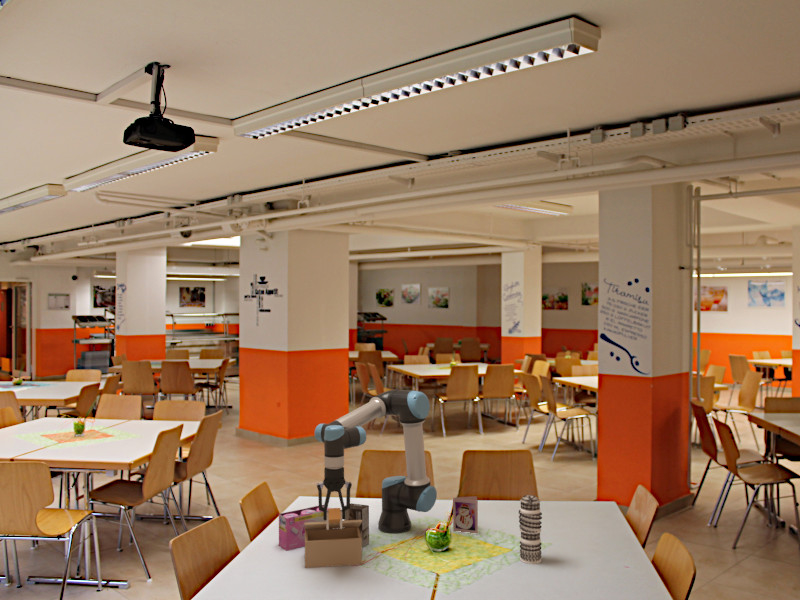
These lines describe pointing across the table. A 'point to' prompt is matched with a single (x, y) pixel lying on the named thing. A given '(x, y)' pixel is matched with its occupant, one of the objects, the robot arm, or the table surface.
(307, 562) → the cardboard carton
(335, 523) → the lid flap
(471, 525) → the greeting card
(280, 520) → the gum box
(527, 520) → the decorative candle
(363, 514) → the coffee box
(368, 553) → the table surface
